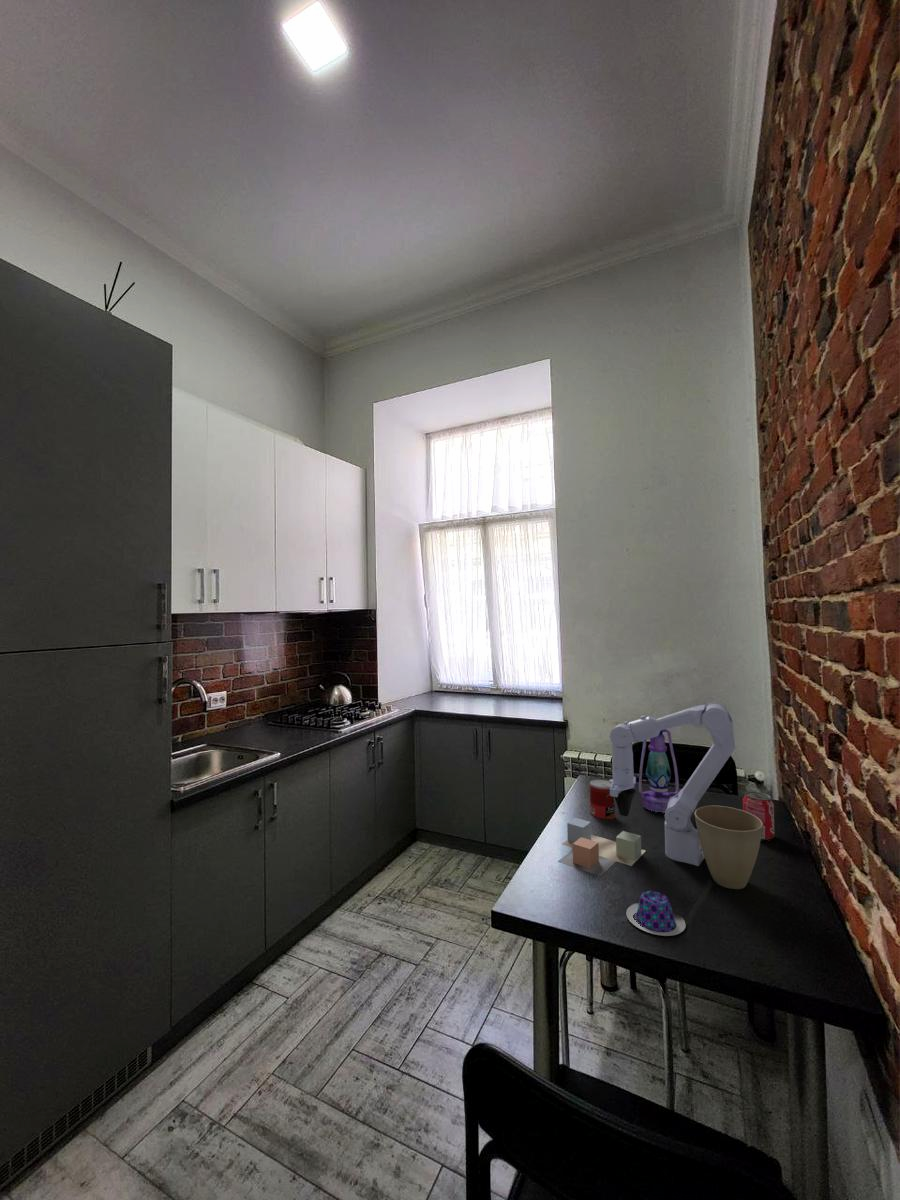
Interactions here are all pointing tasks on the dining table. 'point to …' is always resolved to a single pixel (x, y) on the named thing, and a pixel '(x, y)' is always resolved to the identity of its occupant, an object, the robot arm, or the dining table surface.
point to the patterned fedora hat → (655, 915)
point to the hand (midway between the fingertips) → (624, 815)
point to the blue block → (578, 829)
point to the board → (605, 856)
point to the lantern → (658, 774)
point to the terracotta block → (585, 852)
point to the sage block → (628, 845)
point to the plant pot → (729, 843)
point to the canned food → (601, 799)
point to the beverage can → (761, 811)
